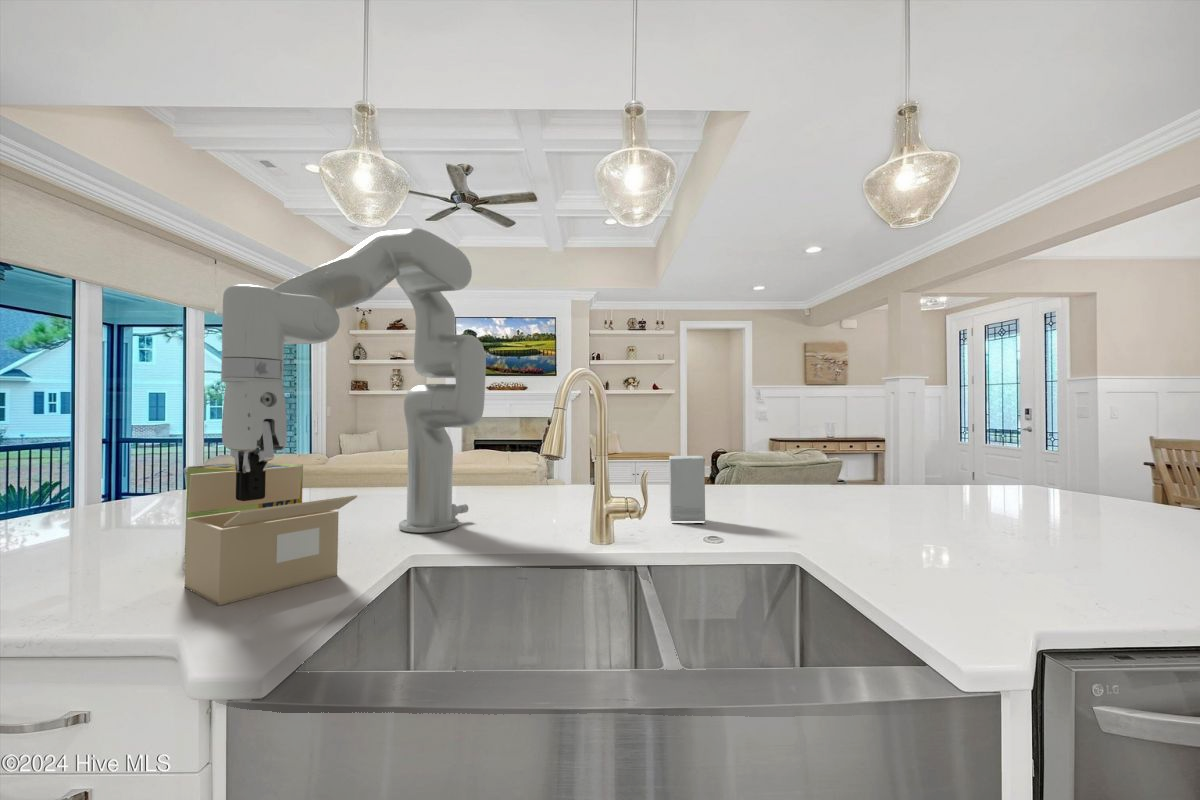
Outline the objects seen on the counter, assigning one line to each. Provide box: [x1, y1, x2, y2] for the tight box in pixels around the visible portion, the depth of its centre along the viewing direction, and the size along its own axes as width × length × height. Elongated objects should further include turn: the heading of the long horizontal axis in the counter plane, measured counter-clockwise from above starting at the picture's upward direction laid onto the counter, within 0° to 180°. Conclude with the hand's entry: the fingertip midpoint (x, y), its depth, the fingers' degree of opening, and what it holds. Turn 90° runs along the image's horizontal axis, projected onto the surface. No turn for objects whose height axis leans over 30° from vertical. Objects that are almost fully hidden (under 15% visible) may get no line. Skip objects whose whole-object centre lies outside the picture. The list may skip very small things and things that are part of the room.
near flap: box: [224, 494, 358, 527], centre depth 75 cm, size 16×6×1 cm, turn 145°
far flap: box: [188, 466, 302, 513], centre depth 83 cm, size 16×6×1 cm
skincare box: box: [668, 455, 706, 522], centre depth 126 cm, size 8×7×16 cm
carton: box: [184, 504, 340, 607], centre depth 80 cm, size 16×12×10 cm
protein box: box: [184, 462, 304, 553], centre depth 97 cm, size 10×15×16 cm
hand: (250, 499), depth 76 cm, fingers closed
